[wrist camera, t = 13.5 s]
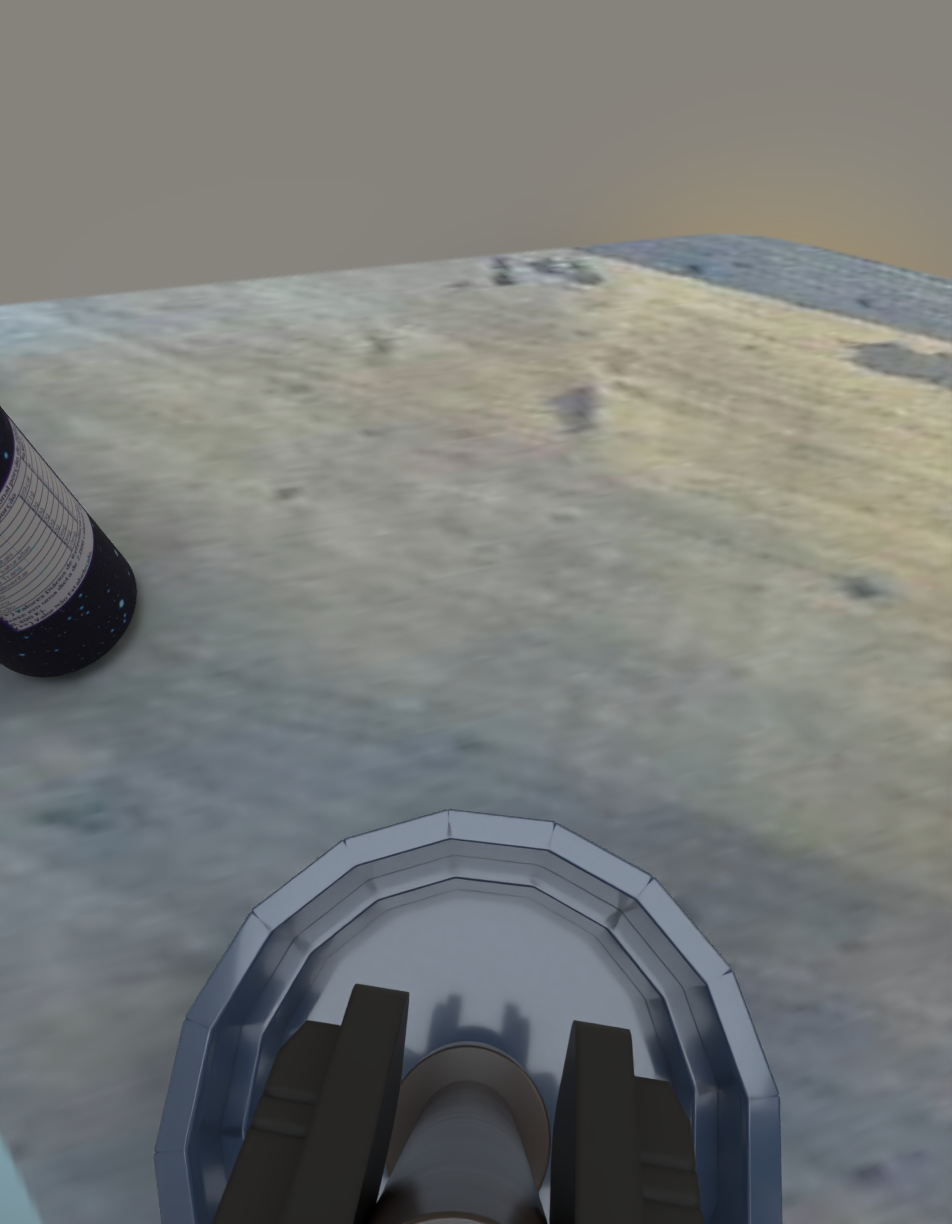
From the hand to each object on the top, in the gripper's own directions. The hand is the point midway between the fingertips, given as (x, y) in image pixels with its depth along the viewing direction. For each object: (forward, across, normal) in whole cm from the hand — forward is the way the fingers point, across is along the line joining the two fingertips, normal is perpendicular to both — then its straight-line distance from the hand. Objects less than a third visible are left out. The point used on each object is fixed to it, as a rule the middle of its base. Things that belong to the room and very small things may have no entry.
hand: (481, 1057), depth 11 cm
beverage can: (+21, +17, +4) cm, 27 cm away
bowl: (+11, 0, +14) cm, 18 cm away
